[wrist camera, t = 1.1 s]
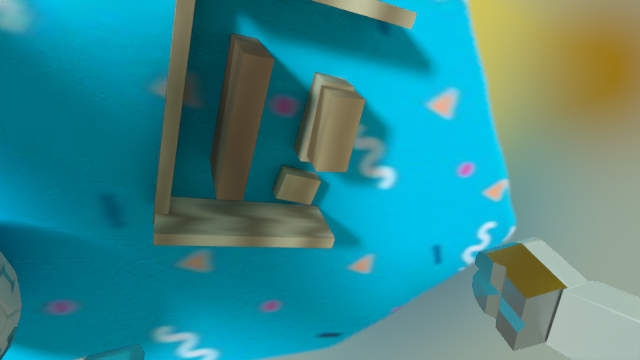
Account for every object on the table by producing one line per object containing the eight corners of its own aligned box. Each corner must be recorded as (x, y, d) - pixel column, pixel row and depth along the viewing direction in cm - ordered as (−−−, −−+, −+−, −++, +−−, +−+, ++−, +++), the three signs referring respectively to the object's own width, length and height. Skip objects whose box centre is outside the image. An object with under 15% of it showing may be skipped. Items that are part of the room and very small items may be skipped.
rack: (153, 205, 39) (151, 244, 34) (182, -61, 28) (185, -60, 24) (314, 214, 45) (331, 248, 41) (383, 2, 35) (417, 13, 31)
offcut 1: (272, 188, 42) (276, 198, 41) (281, 164, 41) (286, 173, 39) (305, 194, 44) (310, 204, 42) (315, 171, 43) (321, 181, 41)
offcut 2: (292, 147, 40) (300, 161, 38) (314, 71, 37) (324, 80, 35) (319, 151, 42) (328, 164, 39) (342, 77, 38) (354, 87, 36)
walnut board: (209, 159, 38) (216, 198, 32) (231, 32, 33) (243, 53, 27) (232, 161, 39) (242, 200, 33) (256, 38, 34) (274, 59, 28)
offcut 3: (306, 156, 38) (316, 171, 36) (321, 85, 35) (332, 96, 32) (335, 157, 39) (346, 172, 37) (352, 88, 36) (365, 99, 33)
